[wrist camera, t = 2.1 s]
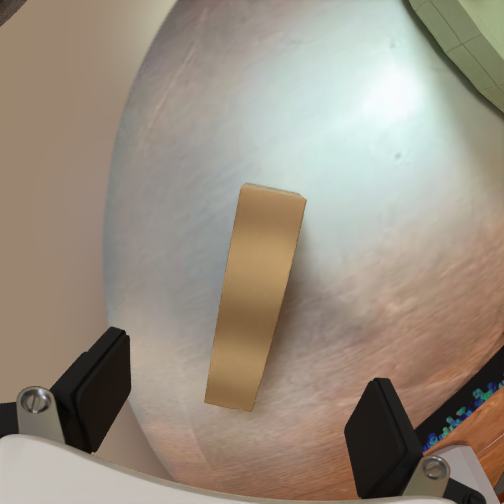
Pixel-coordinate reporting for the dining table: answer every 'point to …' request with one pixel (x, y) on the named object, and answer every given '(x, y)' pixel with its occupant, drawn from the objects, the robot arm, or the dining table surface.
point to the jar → (467, 470)
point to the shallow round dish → (470, 39)
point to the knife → (463, 402)
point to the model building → (499, 486)
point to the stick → (252, 292)
